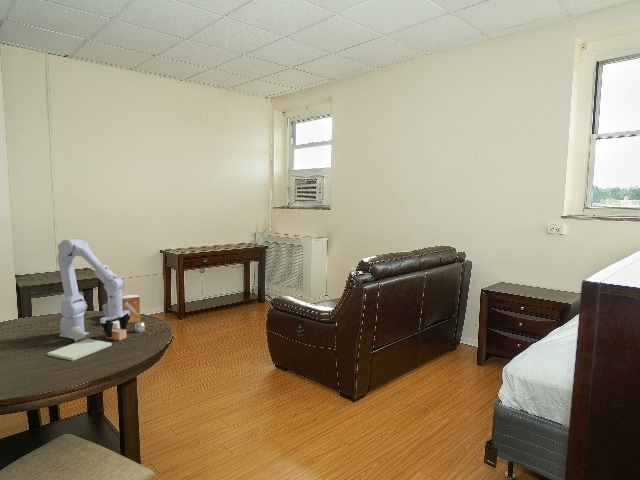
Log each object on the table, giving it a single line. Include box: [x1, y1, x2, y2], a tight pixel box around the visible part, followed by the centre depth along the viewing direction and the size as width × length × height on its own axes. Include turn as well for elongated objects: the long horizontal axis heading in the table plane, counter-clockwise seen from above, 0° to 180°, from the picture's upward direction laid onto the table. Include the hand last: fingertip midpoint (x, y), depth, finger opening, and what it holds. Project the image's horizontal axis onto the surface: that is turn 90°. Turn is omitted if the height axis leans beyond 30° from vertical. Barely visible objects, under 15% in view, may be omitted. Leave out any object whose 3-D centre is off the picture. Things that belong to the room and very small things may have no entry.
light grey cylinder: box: [134, 321, 146, 334], centre depth 194 cm, size 4×4×4 cm
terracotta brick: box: [105, 328, 128, 341], centre depth 185 cm, size 8×4×4 cm, turn 69°
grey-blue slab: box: [69, 326, 87, 343], centre depth 181 cm, size 6×4×2 cm
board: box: [47, 338, 112, 362], centre depth 170 cm, size 14×18×1 cm
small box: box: [122, 293, 141, 324], centre depth 208 cm, size 8×6×13 cm
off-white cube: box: [110, 320, 120, 329], centre depth 195 cm, size 4×4×4 cm
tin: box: [101, 301, 119, 321], centre depth 213 cm, size 15×3×8 cm, turn 57°
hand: (116, 334), depth 185 cm, fingers open, 7 cm apart
